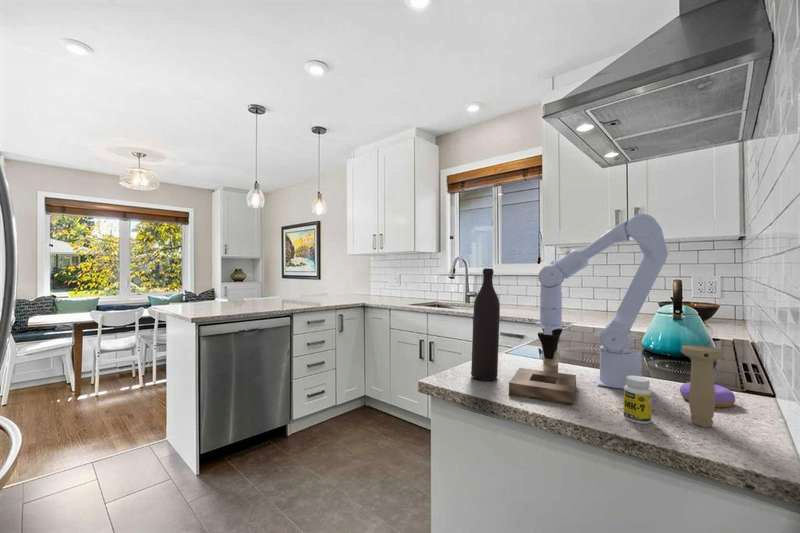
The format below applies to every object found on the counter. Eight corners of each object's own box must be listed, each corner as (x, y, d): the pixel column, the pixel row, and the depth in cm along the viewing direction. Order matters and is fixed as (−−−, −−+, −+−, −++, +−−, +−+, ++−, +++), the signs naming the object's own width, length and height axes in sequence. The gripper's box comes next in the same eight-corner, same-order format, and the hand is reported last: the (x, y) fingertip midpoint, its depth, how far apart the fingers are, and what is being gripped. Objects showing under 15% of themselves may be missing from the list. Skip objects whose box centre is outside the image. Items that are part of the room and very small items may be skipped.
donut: (718, 394, 90) (721, 375, 89) (743, 417, 81) (747, 397, 80) (671, 391, 92) (673, 373, 91) (690, 413, 83) (693, 394, 82)
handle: (727, 432, 70) (727, 352, 70) (685, 426, 73) (685, 349, 73) (717, 422, 74) (718, 347, 74) (678, 417, 77) (679, 344, 77)
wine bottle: (502, 377, 103) (505, 269, 104) (488, 382, 98) (493, 268, 99) (479, 372, 108) (483, 268, 109) (466, 376, 103) (470, 267, 104)
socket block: (576, 386, 96) (576, 375, 96) (572, 405, 83) (572, 392, 83) (519, 378, 102) (519, 367, 102) (508, 395, 90) (508, 382, 90)
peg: (558, 372, 108) (558, 352, 108) (557, 376, 104) (557, 355, 104) (544, 370, 110) (544, 350, 110) (542, 374, 106) (542, 353, 106)
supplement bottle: (620, 419, 76) (620, 378, 76) (627, 412, 79) (627, 373, 79) (648, 426, 73) (648, 383, 73) (653, 419, 76) (654, 378, 76)
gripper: (539, 304, 115) (539, 348, 115) (532, 310, 102) (531, 359, 103) (564, 306, 112) (563, 351, 112) (560, 312, 99) (559, 363, 99)
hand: (550, 355), depth 107 cm, fingers open, 7 cm apart
